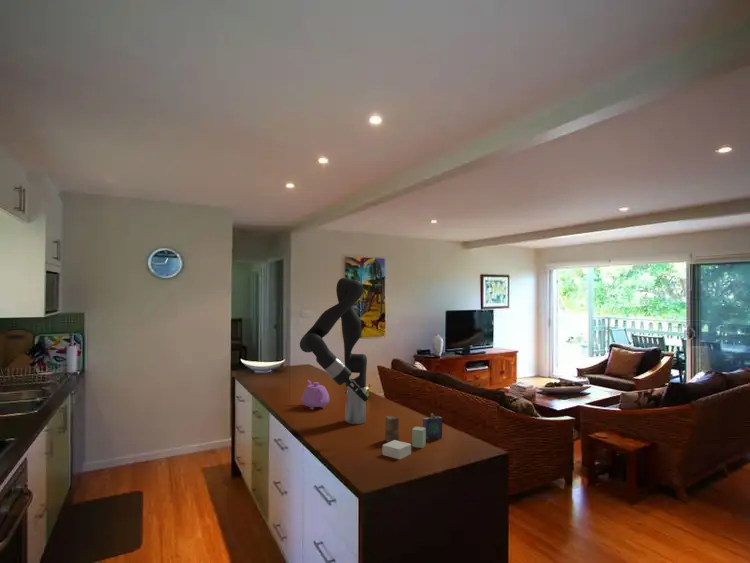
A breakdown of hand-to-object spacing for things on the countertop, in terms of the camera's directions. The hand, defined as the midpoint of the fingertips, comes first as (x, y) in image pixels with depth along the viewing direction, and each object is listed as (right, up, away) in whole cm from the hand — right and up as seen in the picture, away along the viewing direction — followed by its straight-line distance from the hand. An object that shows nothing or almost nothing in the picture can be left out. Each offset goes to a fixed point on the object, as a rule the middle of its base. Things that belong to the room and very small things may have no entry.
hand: (364, 397), depth 177 cm
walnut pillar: (+12, -19, +2) cm, 23 cm away
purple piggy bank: (-29, -22, +60) cm, 71 cm away
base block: (+13, -19, -13) cm, 26 cm away
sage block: (+23, -19, -3) cm, 30 cm away
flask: (+30, -20, +7) cm, 36 cm away
